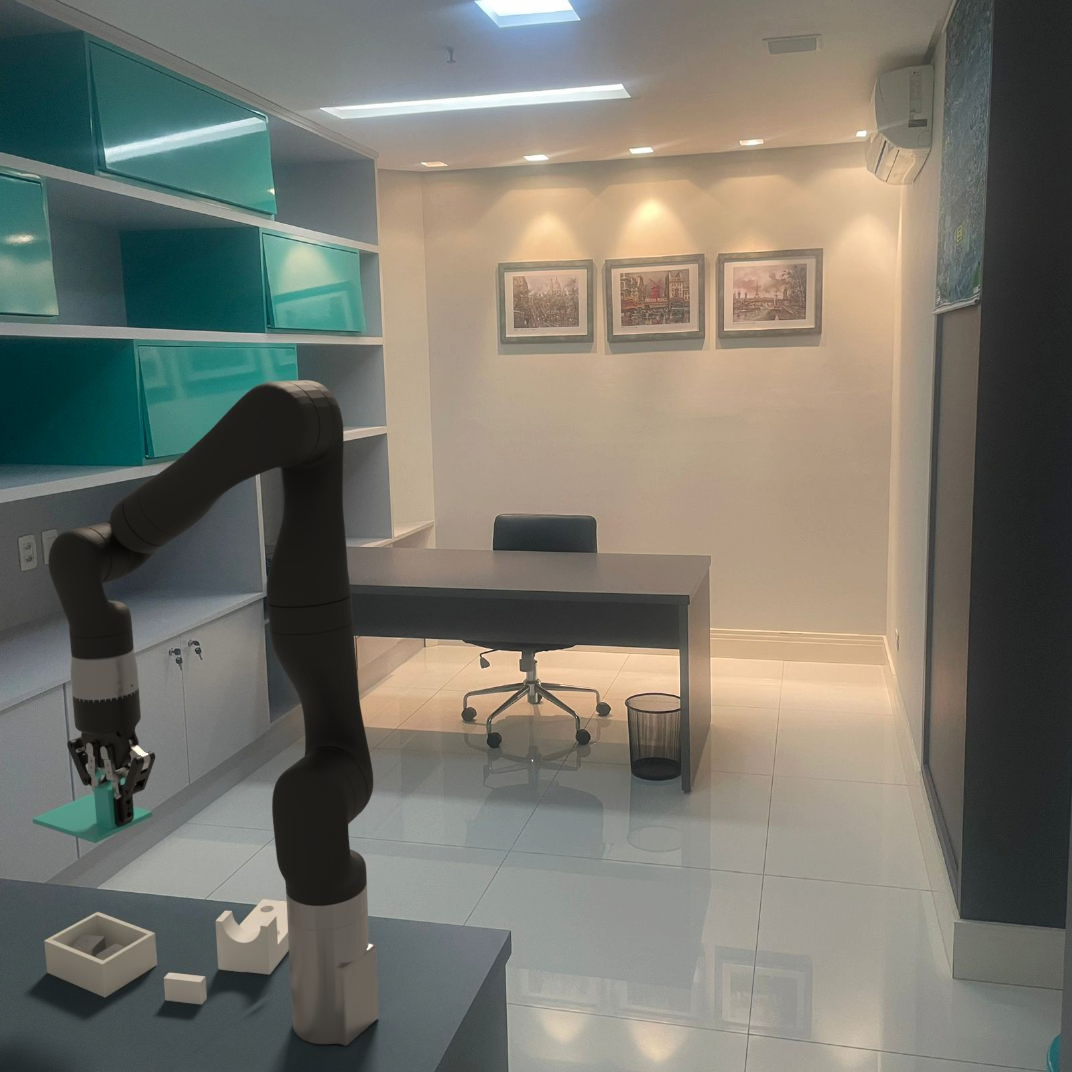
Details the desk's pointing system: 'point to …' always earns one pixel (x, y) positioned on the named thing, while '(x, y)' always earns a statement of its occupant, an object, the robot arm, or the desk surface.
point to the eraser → (185, 988)
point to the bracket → (253, 939)
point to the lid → (89, 816)
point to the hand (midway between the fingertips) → (116, 820)
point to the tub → (97, 972)
